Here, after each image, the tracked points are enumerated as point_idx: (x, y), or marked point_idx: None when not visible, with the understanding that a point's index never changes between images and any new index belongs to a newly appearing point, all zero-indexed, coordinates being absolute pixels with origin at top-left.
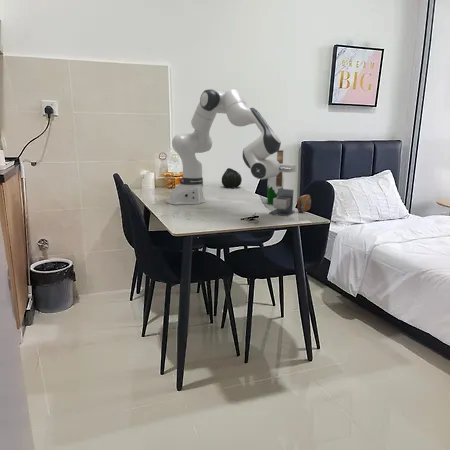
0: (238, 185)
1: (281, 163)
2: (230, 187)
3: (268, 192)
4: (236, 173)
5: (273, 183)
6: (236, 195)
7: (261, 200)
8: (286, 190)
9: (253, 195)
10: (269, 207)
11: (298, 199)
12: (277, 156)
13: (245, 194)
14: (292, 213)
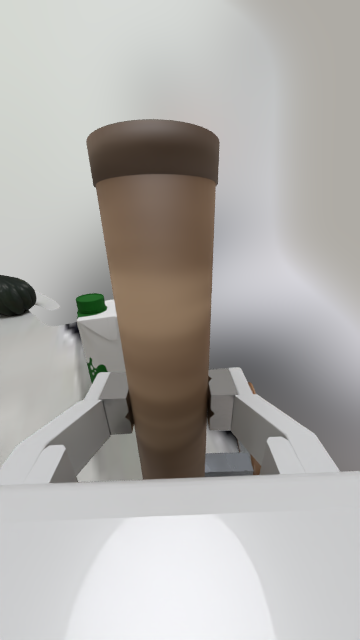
0: (30, 307)
1: (203, 379)
2: (12, 314)
3: (94, 379)
4: (17, 284)
5: (106, 353)
6: (10, 356)
7: (79, 376)
8: (212, 475)
9: (59, 342)
10: (112, 463)
11: (256, 463)
12: (120, 281)
13: (39, 341)
14: None
